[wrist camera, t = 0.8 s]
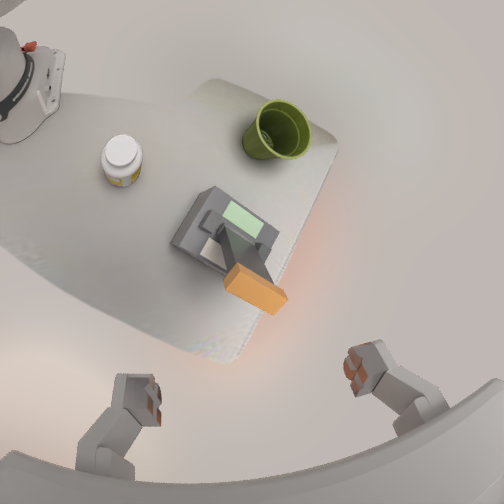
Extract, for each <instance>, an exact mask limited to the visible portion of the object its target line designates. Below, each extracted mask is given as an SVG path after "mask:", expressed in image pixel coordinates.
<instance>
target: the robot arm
mask: <svg viewBox="0 0 504 504" xmlns="http://www.w3.org/2000/svg"><path fill="white" fill-rule="evenodd" d="M24 1H25V0H0V17H2V16H3V15H5V14H7V13H8V12H10V11H11V10H13V9H14V8H15V7H17V6H18V5H20V4H21V3H22V2H24ZM36 45H37V44H36V42H35V41H34V42H31V43H26V45H25V46H24V47H20V45H19V42H18V40H17V37H16V35H15V33H14V32H13V31H12V30H10V29H8V28H5V27H0V141H1V142H3V143H7V144H12V143H16V142H19V141H22V140H23V139H25V138H27V137H28V136H30V135H31V134H32V133H33V132H34V131H35V130H36V129H37V128H38V127H39V126H40V124H41V123H42V122H43V121H44V120H45V119H46V118H47V117H49V116H50V115H52V114H53V113H54V112H56V111H57V110H58V108H59V102H60V92H61V84H62V75H63V70H64V63H65V58H66V55H65V53H64V52H63V51H60V50H57V49H50V48H48V47H43V46H38V47H36ZM55 53H56V54H55ZM54 100H55V102H53V101H54ZM52 102H53V103H52ZM348 354H349V355H348V356H347V358H345V360H344V363H343V364H344V372H345V375H346V377H347V378H348V379H349V380H351V385H350V386H351V389H352V390H353V393H354V395H355V397H359V396H362V395H365V394H369V393H371V392H372V394H373V395H374V396H376V397H377V398H378V399H380V400H381V401H382V402H383V403H385V404H386V405H387V406H388V407H390V408H391V409H392V410H394V411H395V412H396V413H398V414H399V415H400V416H399V417H398V418H397V419H396V420H395V421H394V423H393V427H394V429H395V432H396V434H397V436H398V437H397V438H394V439H392V440H390V441H388V442H385V443H383V444H381V445H378V446H376V447H373V448H371V449H368V450H366V451H363V452H360V453H358V454H355V455H352V456H349V457H346V458H343V459H340V460H337V461H334V462H331V463H327V464H324V465H320V466H316V467H313V468H309V469H305V470H301V471H296V472H292V473H287V474H282V475H277V476H271V477H265V478H259V479H251V480H244V481H233V482H221V483H200V484H174V483H153V482H141V481H135V467H134V465H133V464H132V463H130V462H129V461H127V460H125V459H124V456H125V454H126V453H127V451H128V450H129V448H130V447H131V445H132V443H133V442H134V440H135V439H136V437H137V436H138V434H139V432H140V431H141V429H142V426H161V412H160V410H159V409H158V408H159V406H160V405H161V403H162V397H161V390H160V387H159V385H158V384H157V383H156V382H155V378H154V376H153V374H117V375H116V377H115V382H114V389H113V395H112V402H111V408H107V409H106V410H105V411H104V412H103V414H102V415H101V416H100V417H99V418H98V419H97V421H96V422H95V423H94V424H93V425H92V426H91V428H90V429H89V430H88V431H87V433H86V434H85V435H84V436H83V437H82V438H81V439H80V441H79V442H78V447H77V457H76V467H75V470H73V469H70V468H66V467H62V466H59V465H56V464H52V463H49V462H46V461H43V460H40V459H38V458H35V457H32V456H29V455H27V454H24V453H22V452H19V451H16V450H13V451H11V452H9V453H8V454H7V455H6V456H4V457H3V458H2V459H1V460H0V504H504V381H503V380H500V379H498V378H494V379H492V380H490V381H489V382H488V383H486V384H485V385H483V386H482V387H481V388H479V389H478V390H477V391H475V392H474V393H473V394H471V395H470V396H468V397H467V398H465V399H464V400H462V401H461V402H460V403H458V404H457V405H455V406H453V407H452V408H450V407H449V406H448V404H447V402H446V400H445V398H444V397H443V395H442V393H441V391H440V390H439V388H438V387H437V386H435V385H433V384H431V383H430V382H428V381H426V380H424V379H423V378H421V377H419V376H418V375H416V374H414V373H412V372H411V371H409V370H407V369H405V368H404V367H402V366H398V365H397V364H396V362H395V360H394V358H393V357H392V355H391V353H390V352H389V350H388V349H387V347H386V345H385V344H384V342H383V341H382V340H376V341H373V342H368V343H365V344H361V345H358V346H354V347H351V348H350V349H349V350H348Z"/></svg>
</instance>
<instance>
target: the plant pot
mask: <svg viewBox="0 0 504 504" xmlns="http://www.w3.org/2000/svg"><path fill="white" fill-rule="evenodd" d="M262 134H265V135H266V136H267V139H266V138H265V137H264V135H262ZM311 140H312V132H311V127H310V124H309V122H308V119H307V118H306V116H305V115H304V113H303V112H302V111H301V110H300V109H299V108H298V107H297V106H296V105H294V104H292V103H291V102H288V101H285V100H280V99H276V100H270V101H268V102H266V103H265V104H263V105H262V107H261V108H260V109H259V111H258V114H257V117H256V120H255V121H254V122H253V124H252V125H251V126H250V127H249V129H248V130H247V131H246V132H245V134H244V136H243V147H244V149H245V151H246V152H247V154H248V155H249V156H251V157H253V158H255V159H268V158H276V157H279V158H283V159H297V158H299V157H301V156H303V155H304V154H305V153H306V152H307V151H308V149H309V147H310V145H311Z"/></svg>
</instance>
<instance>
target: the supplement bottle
mask: <svg viewBox="0 0 504 504" xmlns="http://www.w3.org/2000/svg"><path fill="white" fill-rule="evenodd" d="M142 159H143V152H142V148H141V146H140V144H139V143H138V142H137V141H136V140H135V139H133V138H132V137H130V136H128V135H124V134H122V135H117V136H115V137H113V138H112V139H111V140H110V141H109V142H108V143H107V144H106V146H105V147H104V149H103V151H102V154H101V164H102V167H103V170H104V172H105V175H106V177H107V179H108V180H109V182H110V183H111V184H113V185H115V186H117V187H126V186H129V185H131V184H132V183H134V182H135V181H136V179H137V178H138V176H139V174H140V170H141V164H142Z"/></svg>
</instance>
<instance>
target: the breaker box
mask: <svg viewBox="0 0 504 504" xmlns="http://www.w3.org/2000/svg"><path fill="white" fill-rule="evenodd" d="M223 223H226V224H227V225H229V226H230V227H232V228H233V229H235V230H236V231H238V232H239V233H241V234H242V235H244V236H245V237H247V238H248V239H250V240H251V241H253V242H254V243H255V247H256V249H257V251H258V253H259V255H260V257H261V259H262V261H263V263H265V261H266V259H267V257H268V256H269V254H270V252H271V250H272V249H271V247H272V246H273V244H274V242H275V240H276V238H277V236H278V234H279V231H278V230H276V229H275V228H274V227H272V226H271V225H269V224H268V223H267V222H265V221H264V220H263V219H261V218H260V217H258V216H257V215H256V214H254V213H253V212H251V211H250V210H249V209H247V208H246V207H244V206H243V205H242V204H240V203H239V202H237V201H236V200H235V199H233V198H232V197H230V196H229V195H228V194H226V193H225V192H223V191H222V190H220V189H219V188H218V187H216V186H214V187H212V188H210V189H208V190H206V191H204V192H202V193H200V195H199V197H198V198H197V200H196V201H195V203H194V205H193V206H192V208H191V209H190V211H189V213H188V214H187V216H186V218H185V219H184V221H183V223H182V224H181V226H180V228H179V229H178V231H177V233H176V234H175V236H174V238H173V240H172V241H171V244H172V245H174V246H175V247H177V248H179V249H180V250H182V251H184V252H185V253H187V254H189V255H190V256H192V257H194V258H195V259H197V260H199V261H201V262H202V263H204V264H206V265H207V266H209V267H211V268H212V269H214V270H216V271H218V272H219V273H221V274H223V275H224V276H227V274H228V273H227V269H226V265H225V260H224V256H223V252H222V247H221V243H220V239H219V234H217V232H218V229H219V228H220V226H221V225H222V224H223Z"/></svg>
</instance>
